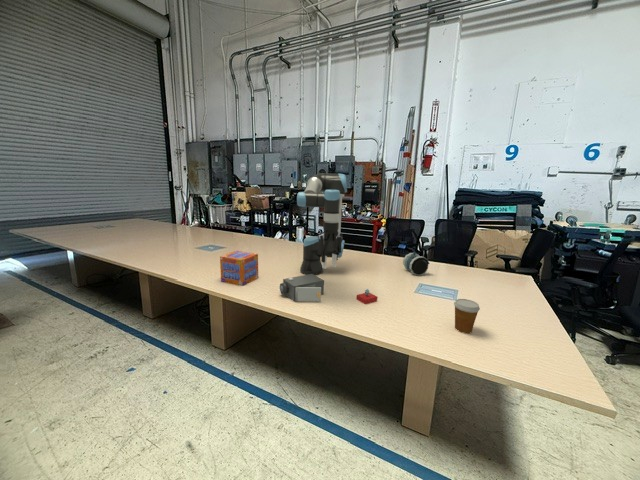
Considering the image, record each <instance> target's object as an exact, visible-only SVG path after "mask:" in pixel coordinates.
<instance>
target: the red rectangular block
mask: <svg viewBox="0 0 640 480" xmlns="http://www.w3.org/2000/svg"><path fill="white" fill-rule="evenodd" d="M356 300H357V301H358V302H360V303H362V304H364V305H367V304H372V303H375V302H377V301H378V296H377V295H375V294H373V293H371V292H370V289H368V288H366V289H365V290H364V293H358V294H356Z"/></svg>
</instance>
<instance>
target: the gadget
mask: <svg viewBox="0 0 640 480" xmlns="http://www.w3.org/2000/svg"><path fill="white" fill-rule="evenodd" d="M429 264H430V261H429V259H427V258H426V257H424V256H422V255H421V256H420V255H419V254H418V253H417V252H416V251H413V252H409V253H408V254H405V256H404V257H403V259H402V265H403V266H404V268H405V270H407V271H409V272H411V273H412V274H413V275H415V276H422V275H424V274H425V273H426V272H427V271H428V269H429Z"/></svg>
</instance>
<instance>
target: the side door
mask: <svg viewBox="0 0 640 480" xmlns="http://www.w3.org/2000/svg"><path fill="white" fill-rule="evenodd" d="M321 301H322V295H321V287H295V301H294V302H321Z"/></svg>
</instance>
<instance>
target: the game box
mask: <svg viewBox="0 0 640 480" xmlns="http://www.w3.org/2000/svg"><path fill="white" fill-rule="evenodd" d="M219 257H220V258H219V267H220V268H219V269H220V282H221V283H225V284H230V285H231V284H232V285H236V286H240V287H243V286H246V285H247V283H248V284H249V283H252V282H253V281H255V280H257V279H259V253H255V252H248V251H242V250H236V251H233V252H229V253H225V254H222V255H220V256H219Z"/></svg>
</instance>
